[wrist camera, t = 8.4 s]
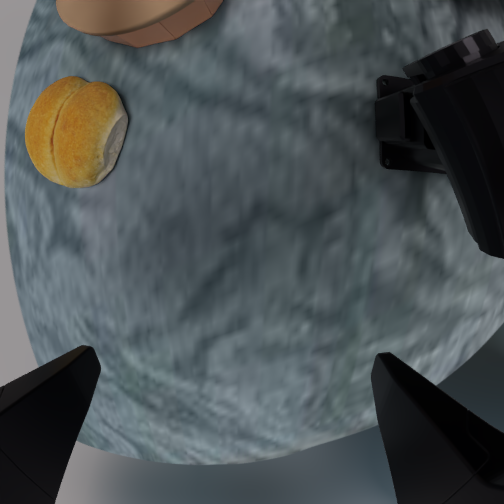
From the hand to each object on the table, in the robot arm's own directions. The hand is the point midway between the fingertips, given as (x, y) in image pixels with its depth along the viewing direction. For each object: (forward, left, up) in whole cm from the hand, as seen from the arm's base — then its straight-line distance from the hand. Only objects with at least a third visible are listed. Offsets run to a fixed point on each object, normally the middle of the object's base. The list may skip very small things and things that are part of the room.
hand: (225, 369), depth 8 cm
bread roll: (+13, -9, -14) cm, 20 cm away
